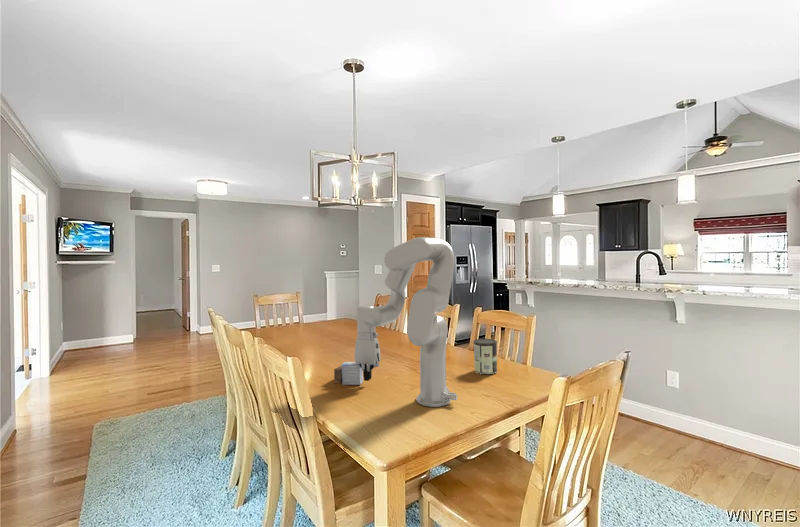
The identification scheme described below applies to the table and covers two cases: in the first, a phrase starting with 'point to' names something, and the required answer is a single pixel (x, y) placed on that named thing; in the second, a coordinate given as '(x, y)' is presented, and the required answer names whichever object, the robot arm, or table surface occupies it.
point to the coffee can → (485, 356)
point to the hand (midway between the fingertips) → (367, 379)
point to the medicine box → (351, 374)
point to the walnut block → (338, 375)
